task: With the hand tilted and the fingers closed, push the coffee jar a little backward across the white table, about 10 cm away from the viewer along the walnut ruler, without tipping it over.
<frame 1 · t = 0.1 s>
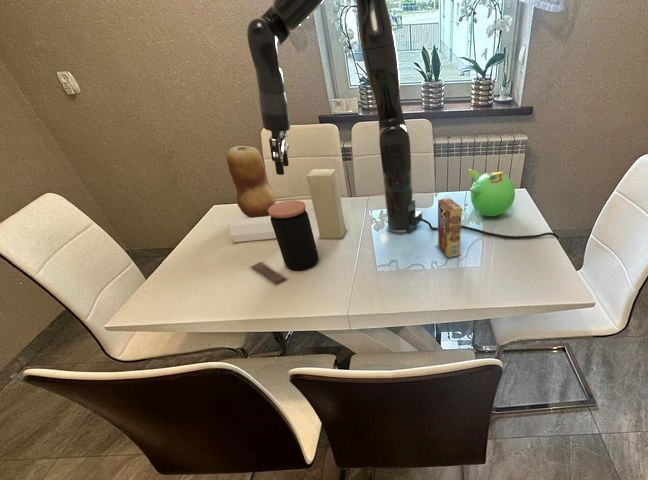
hand: (282, 169, 119), 22 cm above the table, tool pointing down, fingers open, 8 cm apart
butternut squash: (262, 217, 148), on the table
coffee jar: (302, 263, 120), on the table
toy bird: (489, 213, 141), on the table
walnut ruler: (268, 273, 116), on the table
crystal: (265, 237, 135), on the table
candy box: (448, 251, 121), on the table
beige tall block: (334, 234, 134), on the table
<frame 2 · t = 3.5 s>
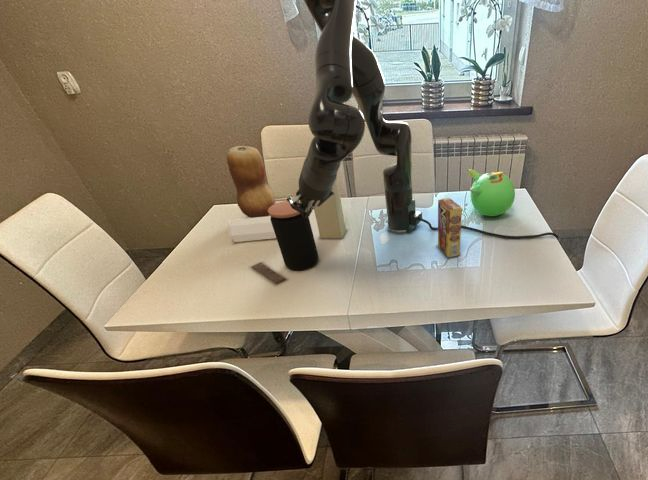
hand: (304, 214, 102), 18 cm above the table, tool tilted 45°, fingers closed
nothing on the table moved.
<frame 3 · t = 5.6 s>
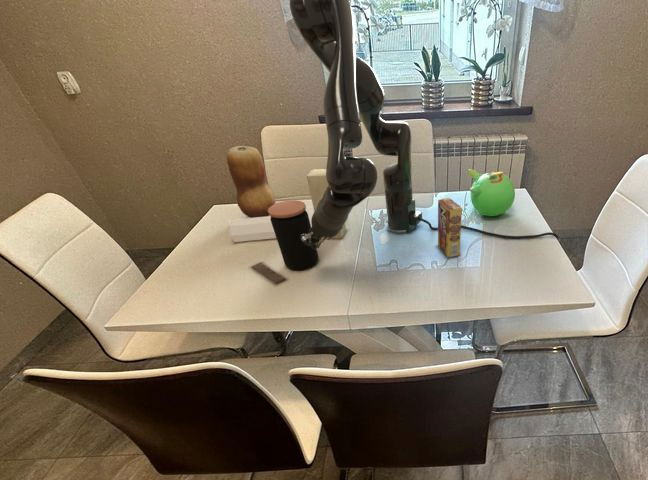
hand: (314, 246, 108), 9 cm above the table, tool tilted 45°, fingers closed
nothing on the table moved.
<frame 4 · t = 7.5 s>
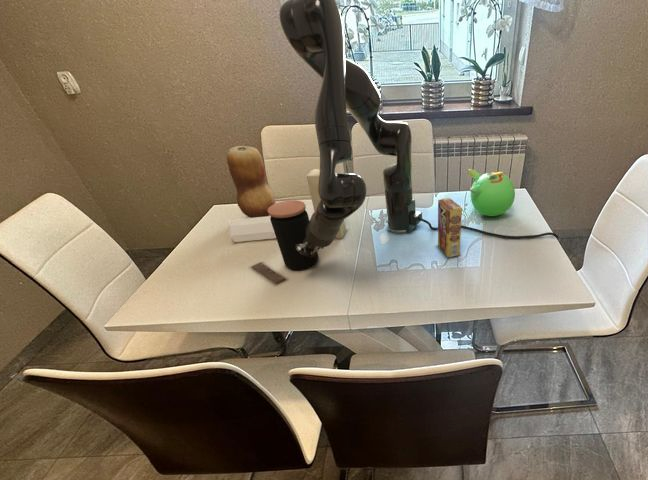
hand: (309, 254, 113), 5 cm above the table, tool tilted 45°, fingers closed
coffee jar: (302, 263, 120), on the table, touching gripper
everything else where it was.
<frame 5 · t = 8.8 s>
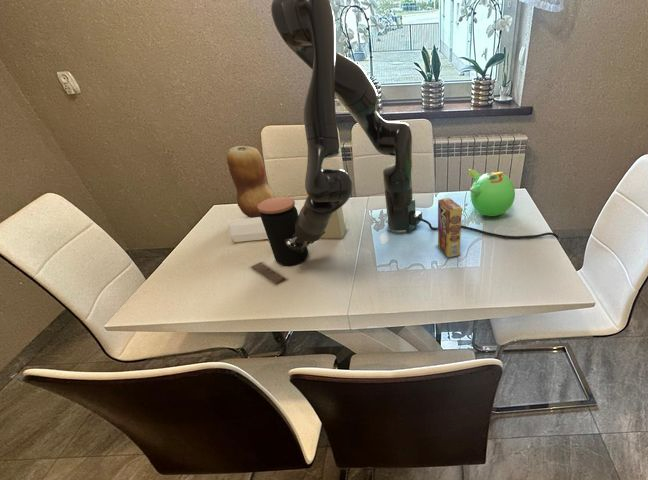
hand: (299, 249, 116), 5 cm above the table, tool tilted 45°, fingers closed
coffee jar: (293, 259, 122), on the table, touching gripper
everything else where it was.
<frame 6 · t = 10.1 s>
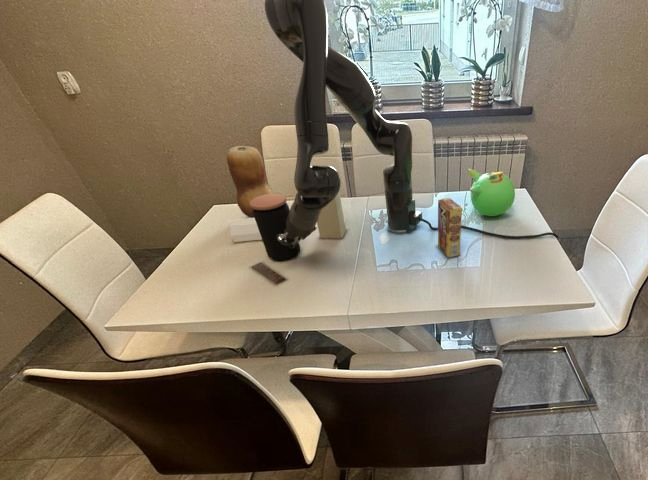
hand: (291, 245, 118), 5 cm above the table, tool tilted 45°, fingers closed
coffee jar: (285, 255, 125), on the table, touching gripper
everything else where it was.
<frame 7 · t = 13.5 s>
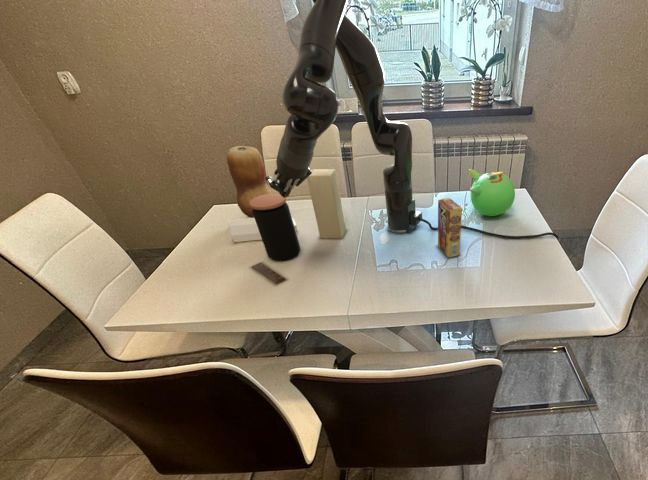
hand: (283, 194, 105), 22 cm above the table, tool tilted 45°, fingers closed
coffee jar: (285, 254, 125), on the table
everything else where it was.
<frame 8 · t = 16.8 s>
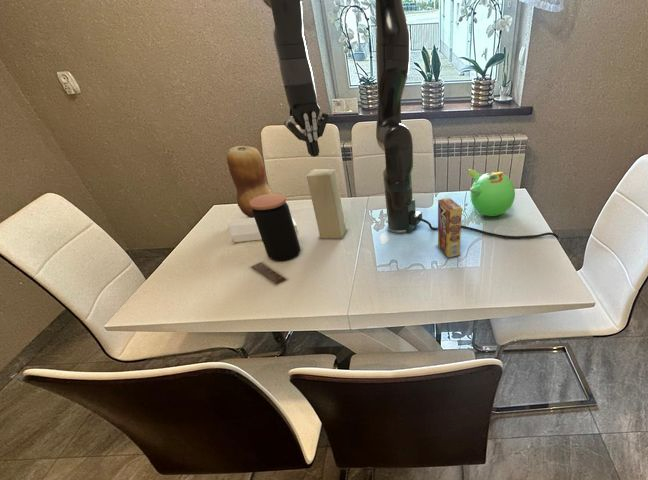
hand: (314, 155, 105), 29 cm above the table, tool pointing down, fingers closed
nothing on the table moved.
at the end: coffee jar inside the target area (0.7 cm from its centre), on the table; coffee jar moved 9.8 cm from its start; coffee jar tilted 0° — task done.
